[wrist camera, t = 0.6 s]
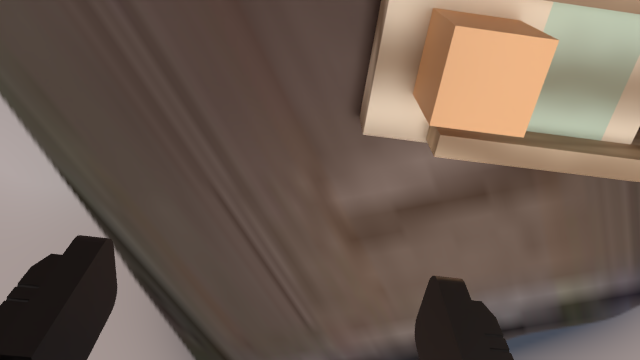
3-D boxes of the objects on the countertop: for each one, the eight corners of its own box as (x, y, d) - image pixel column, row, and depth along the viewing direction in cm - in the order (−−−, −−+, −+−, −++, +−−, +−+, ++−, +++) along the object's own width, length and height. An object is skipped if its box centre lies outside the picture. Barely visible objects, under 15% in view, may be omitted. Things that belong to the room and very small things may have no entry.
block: (433, 7, 27) (455, 25, 22) (520, 20, 27) (559, 40, 23) (412, 94, 29) (429, 125, 25) (493, 104, 29) (523, 137, 25)
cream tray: (392, -62, 28) (409, -57, 22) (767, -4, 29) (867, 13, 24) (359, 117, 33) (367, 155, 28) (679, 157, 34) (744, 201, 29)
